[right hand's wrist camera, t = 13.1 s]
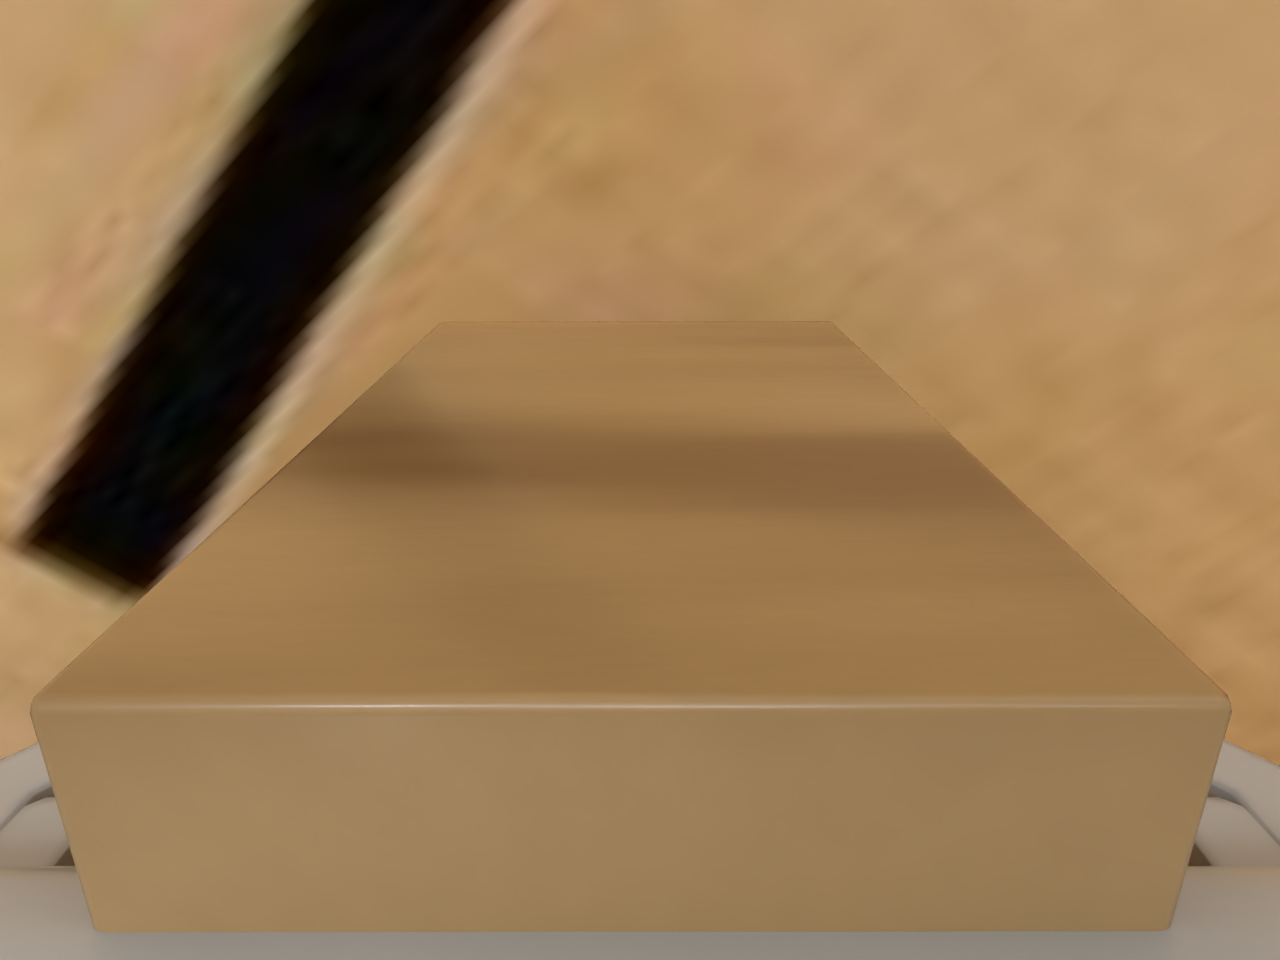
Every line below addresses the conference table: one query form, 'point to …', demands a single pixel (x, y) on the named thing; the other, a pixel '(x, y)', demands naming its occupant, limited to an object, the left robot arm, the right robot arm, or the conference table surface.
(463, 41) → the conference table surface
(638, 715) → the bar
